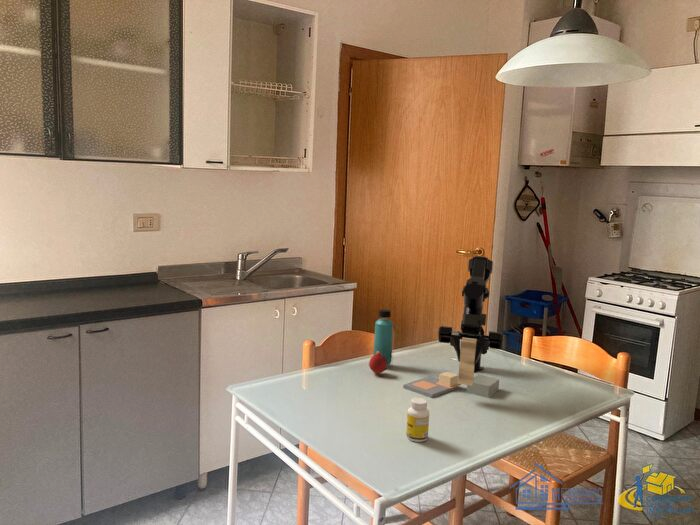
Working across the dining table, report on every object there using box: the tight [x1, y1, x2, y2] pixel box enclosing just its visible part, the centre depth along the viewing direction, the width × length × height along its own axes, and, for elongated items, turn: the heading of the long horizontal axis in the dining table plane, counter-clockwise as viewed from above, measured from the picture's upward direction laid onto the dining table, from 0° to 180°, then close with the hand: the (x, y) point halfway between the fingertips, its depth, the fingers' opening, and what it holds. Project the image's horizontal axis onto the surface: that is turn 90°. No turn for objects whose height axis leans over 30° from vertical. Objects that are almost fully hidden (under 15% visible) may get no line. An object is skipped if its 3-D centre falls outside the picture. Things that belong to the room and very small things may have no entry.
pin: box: [458, 337, 477, 386], centre depth 172 cm, size 4×4×13 cm
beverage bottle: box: [373, 309, 394, 366], centre depth 202 cm, size 6×7×20 cm
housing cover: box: [466, 373, 500, 398], centre depth 183 cm, size 9×7×4 cm
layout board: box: [402, 371, 462, 399], centre depth 184 cm, size 15×12×4 cm
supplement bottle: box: [405, 397, 430, 443], centre depth 146 cm, size 5×5×10 cm
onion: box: [368, 351, 388, 376], centre depth 193 cm, size 6×6×8 cm
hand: (467, 362), depth 171 cm, fingers closed on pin, 4 cm apart
